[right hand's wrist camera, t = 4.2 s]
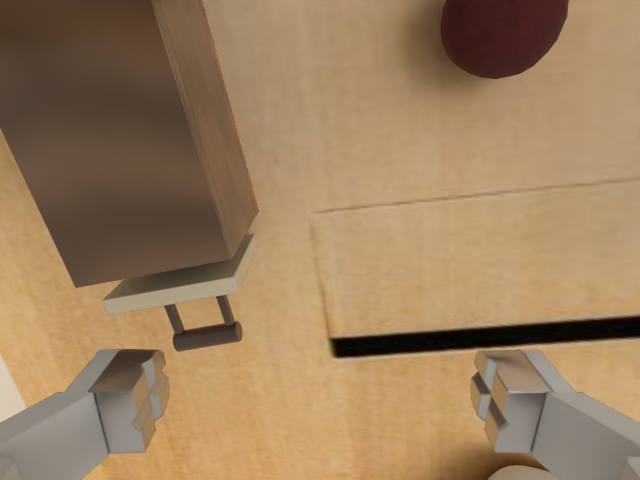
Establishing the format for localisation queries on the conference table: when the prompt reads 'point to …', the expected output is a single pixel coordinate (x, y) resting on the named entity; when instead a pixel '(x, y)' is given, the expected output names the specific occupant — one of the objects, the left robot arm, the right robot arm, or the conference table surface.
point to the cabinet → (124, 134)
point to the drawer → (189, 296)
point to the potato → (500, 34)
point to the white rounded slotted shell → (522, 474)
